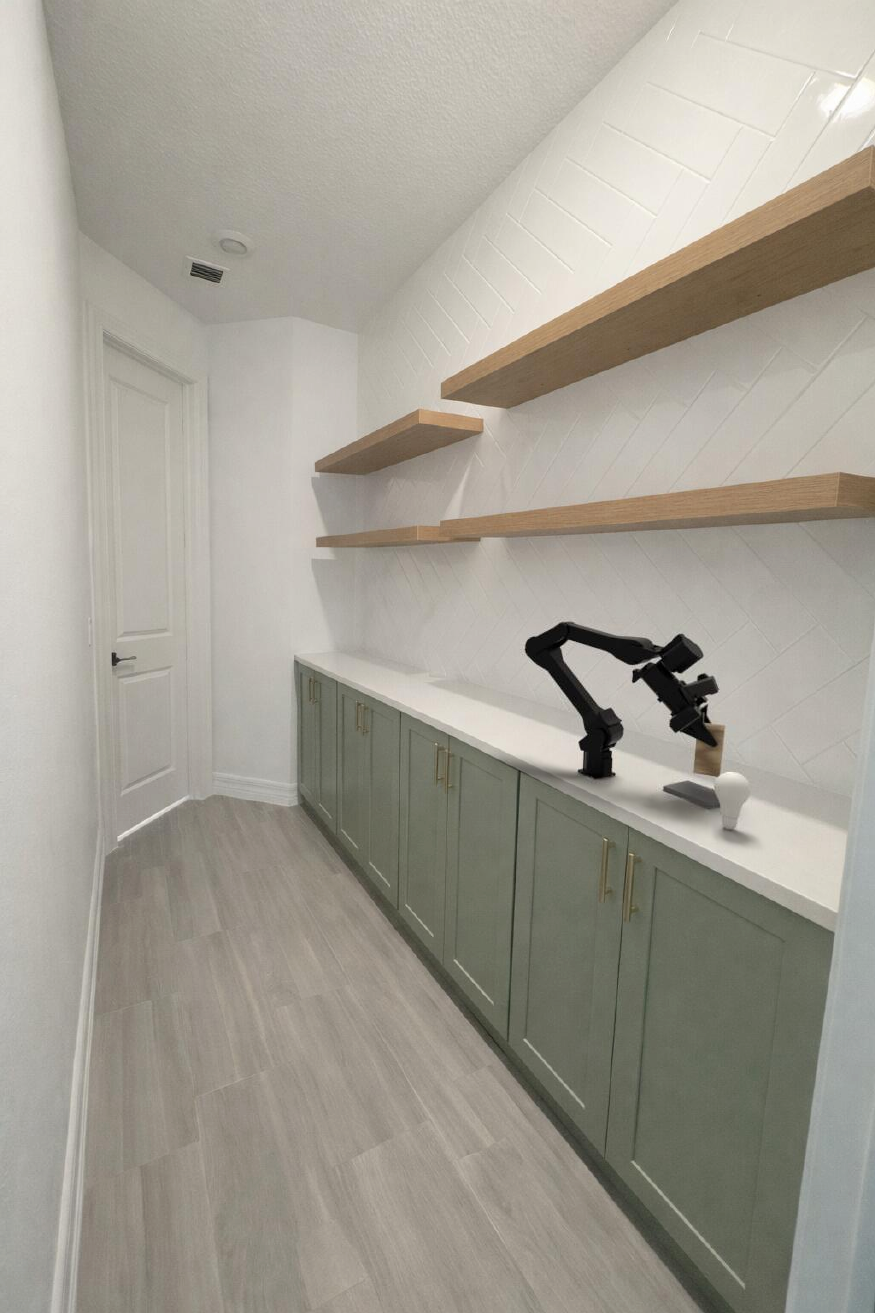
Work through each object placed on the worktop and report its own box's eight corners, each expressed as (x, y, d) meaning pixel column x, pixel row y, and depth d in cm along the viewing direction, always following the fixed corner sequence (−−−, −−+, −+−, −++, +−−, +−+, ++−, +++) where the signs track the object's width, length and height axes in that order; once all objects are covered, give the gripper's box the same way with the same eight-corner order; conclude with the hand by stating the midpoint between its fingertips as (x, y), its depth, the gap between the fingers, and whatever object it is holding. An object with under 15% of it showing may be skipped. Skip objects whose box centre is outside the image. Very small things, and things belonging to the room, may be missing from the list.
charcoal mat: (663, 790, 133) (663, 786, 132) (687, 784, 136) (687, 780, 136) (710, 809, 122) (711, 804, 122) (735, 802, 126) (735, 797, 126)
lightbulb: (727, 837, 109) (732, 779, 107) (703, 824, 115) (708, 768, 113) (754, 834, 110) (759, 776, 109) (730, 820, 116) (734, 766, 115)
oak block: (693, 772, 127) (697, 727, 126) (695, 766, 131) (699, 722, 130) (719, 777, 125) (723, 730, 123) (720, 770, 129) (725, 725, 128)
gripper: (691, 668, 118) (748, 730, 115) (700, 657, 135) (750, 711, 131) (647, 702, 123) (700, 763, 120) (661, 687, 139) (708, 740, 136)
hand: (716, 742), depth 126 cm, fingers closed on oak block, 5 cm apart
